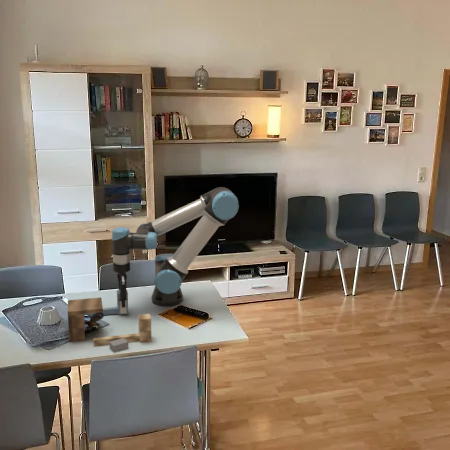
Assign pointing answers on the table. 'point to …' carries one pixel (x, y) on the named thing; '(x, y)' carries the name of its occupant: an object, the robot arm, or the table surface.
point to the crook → (113, 309)
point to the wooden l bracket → (81, 316)
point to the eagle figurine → (94, 320)
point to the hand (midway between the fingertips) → (122, 310)
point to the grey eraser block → (118, 345)
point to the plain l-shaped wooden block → (142, 336)
